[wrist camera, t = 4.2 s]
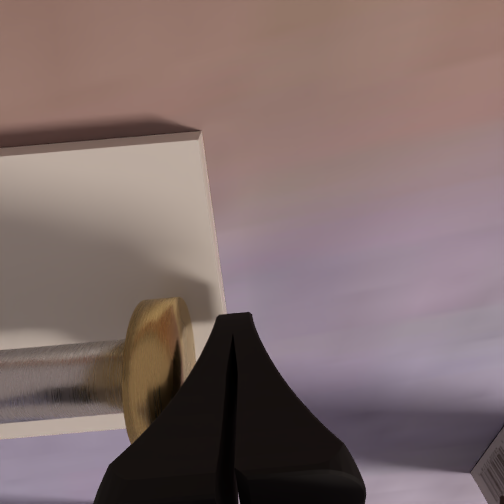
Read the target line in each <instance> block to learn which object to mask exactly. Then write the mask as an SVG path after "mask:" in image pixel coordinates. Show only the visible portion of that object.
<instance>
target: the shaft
mask: <svg viewBox="0 0 504 504" xmlns="http://www.w3.org/2000/svg"><path fill="white" fill-rule="evenodd" d="M195 363H196V355H195V344H194V335H193V329H192V323H191V318H190V314H189V311H188V308H187V305H186V303H185V301H184V300H183V299H182V298H181V297H171V298H160V299H148V300H142V301H141V302H140V303H139V304H138V305H137V306H136V308H135V309H134V311H133V314H132V316H131V319H130V322H129V325H128V329H127V333H126V338H125V339H121V340H109V341H98V342H86V343H75V344H64V345H52V346H41V347H29V348H18V349H6V350H0V424H5V423H16V422H28V421H39V420H50V419H62V418H73V417H85V416H96V415H107V414H119V413H124V419H125V425H126V429H127V433H128V437H129V440H130V442H131V444H132V443H133V442H134V441H135V440H136V439H137V438H138V437H139V436H140V435H141V434H142V433H143V432H144V431H145V430H146V429H147V428H148V427H149V426H150V425H151V423H152V422H153V421H154V420H155V419H156V418H157V417H158V416H159V415H160V413H161V412H162V411H163V410H164V409H165V407H166V406H167V405H168V403H169V402H170V401H171V400H172V398H173V397H174V396H175V394H176V393H177V392H178V390H179V389H180V387H181V386H182V384H183V383H184V381H185V380H186V378H187V377H188V375H189V374H190V372H191V370H192V369H193V367H194V365H195Z"/></svg>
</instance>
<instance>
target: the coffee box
mask: <svg viewBox="0 0 504 504" xmlns="http://www.w3.org/2000/svg"><path fill="white" fill-rule="evenodd" d="M471 475H472V477H473V478H474V480H475V482H476V483H477V485H478V487H479V488H480V490H481V492H482V494H483V495H484V497H485V499H486V501H487V503H488V504H504V427H503V428H502V430H501V431H500V432H499V434H498V435H497V437H496V438H495V440H494V441H493V442H492V444H491V445H490V447H489V448H488V449H487V451H486V452H485V453H484V455H483V456H482V457H481V459H480V460H479V462H478V463H477V464H476V466H475V467H474V468H473V470H472V471H471Z"/></svg>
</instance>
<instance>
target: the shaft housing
mask: <svg viewBox="0 0 504 504" xmlns="http://www.w3.org/2000/svg"><path fill="white" fill-rule="evenodd" d="M171 297H181V298H182V299H183V300H184V301H185V303H186V305H187V308H188V311H189V314H190V318H191V323H192V329H193V335H194V344H195V355H196V362H197V360H198V358H199V356H200V355H201V353H202V351H203V349H204V347H205V344H206V342H207V340H208V338H209V336H210V334H211V331H212V329H213V326H214V323H215V320H216V317H217V316H218V315H220V314H227V311H226V303H225V296H224V289H223V281H222V274H221V267H220V260H219V252H218V245H217V238H216V231H215V223H214V216H213V209H212V202H211V194H210V187H209V180H208V173H207V165H206V158H205V151H204V144H203V136H202V131H195V132H183V133H172V134H160V135H148V136H136V137H125V138H113V139H101V140H90V141H78V142H66V143H54V144H43V145H31V146H19V147H7V148H0V350H6V349H18V348H29V347H41V346H52V345H64V344H75V343H86V342H98V341H109V340H121V339H125V338H126V333H127V329H128V325H129V322H130V319H131V316H132V314H133V311H134V309H135V308H136V306H137V305H138V304H139V303H140V302H141V301H142V300H148V299H160V298H171ZM125 428H126V425H125V419H124V413H119V414H107V415H96V416H85V417H73V418H62V419H50V420H39V421H28V422H16V423H5V424H0V439H11V438H23V437H34V436H45V435H57V434H68V433H79V432H91V431H102V430H113V429H125Z"/></svg>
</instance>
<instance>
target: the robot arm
mask: <svg viewBox="0 0 504 504" xmlns="http://www.w3.org/2000/svg"><path fill="white" fill-rule="evenodd" d="M238 493H239V499H240V504H365V499H366V488H365V484H364V481H363V479H362V476H361V474H360V472H359V470H358V467H357V465H356V463H355V462H354V460H353V458H352V456H351V454H350V452H349V451H348V449H347V447H346V446H345V444H344V443H343V442H342V441H341V440H339V439H338V438H337V437H336V436H335V435H334V434H333V433H332V432H330V431H329V430H328V429H327V428H326V427H325V426H324V425H323V424H322V423H321V422H320V421H319V420H318V419H317V418H316V417H315V416H314V415H313V414H312V413H311V412H310V411H309V409H308V408H307V407H306V406H305V405H304V404H303V403H302V402H301V401H300V399H299V398H298V397H297V396H296V395H295V393H294V392H293V391H292V390H291V388H290V387H289V386H288V384H287V383H286V382H285V380H284V379H283V378H282V376H281V375H280V373H279V372H278V370H277V369H276V367H275V365H274V364H273V362H272V360H271V359H270V357H269V355H268V353H267V352H266V350H265V348H264V346H263V344H262V342H261V340H260V338H259V335H258V333H257V330H256V328H255V325H254V322H253V318H252V314H251V313H250V312H244V313H232V314H220V315H218V316H217V317H216V320H215V323H214V326H213V329H212V331H211V334H210V336H209V338H208V340H207V342H206V344H205V347H204V349H203V351H202V353H201V355H200V356H199V358H198V360H197V362H196V363H195V365H194V367H193V369H192V370H191V372H190V374H189V375H188V377H187V378H186V380H185V381H184V383H183V384H182V386H181V387H180V389H179V390H178V392H177V393H176V394H175V396H174V397H173V398H172V400H171V401H170V402H169V403H168V405H167V406H166V407H165V409H164V410H163V411H162V412H161V413H160V415H159V416H158V417H157V418H156V419H155V420H154V421H153V422H152V423H151V425H150V426H149V427H148V428H147V429H146V430H145V431H144V432H143V433H142V434H141V435H140V436H139V437H138V438H137V439H136V440H135V441H134V442H133V443H132V444H131V445H130V446H129V447H128V448H127V449H126V450H125V451H124V452H123V453H122V454H121V455H119V456H118V457H117V458H116V459H115V460H114V461H113V462H112V463H111V464H110V465H109V466H108V468H107V471H106V473H105V475H104V477H103V479H102V482H101V484H100V486H99V489H98V491H97V494H96V497H95V500H94V503H93V504H238Z"/></svg>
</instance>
